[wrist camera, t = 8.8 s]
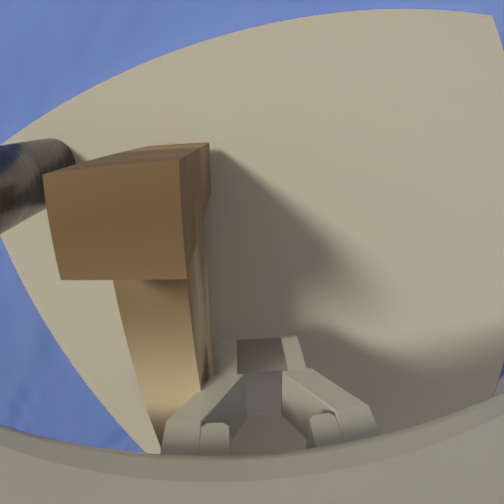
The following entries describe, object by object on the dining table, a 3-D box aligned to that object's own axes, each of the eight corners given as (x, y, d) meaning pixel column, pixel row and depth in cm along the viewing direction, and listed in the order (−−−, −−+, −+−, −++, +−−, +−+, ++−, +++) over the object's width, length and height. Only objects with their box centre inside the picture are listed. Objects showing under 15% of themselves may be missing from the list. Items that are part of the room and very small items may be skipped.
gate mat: (196, 494, 18) (196, 499, 18) (-19, 163, 9) (-25, 165, 9) (488, 398, 17) (491, 401, 17) (486, 17, 8) (491, 15, 8)
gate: (231, 469, 16) (235, 557, 10) (197, 469, 16) (194, 556, 10) (209, 142, 9) (178, 160, 4) (145, 146, 9) (42, 174, 4)
